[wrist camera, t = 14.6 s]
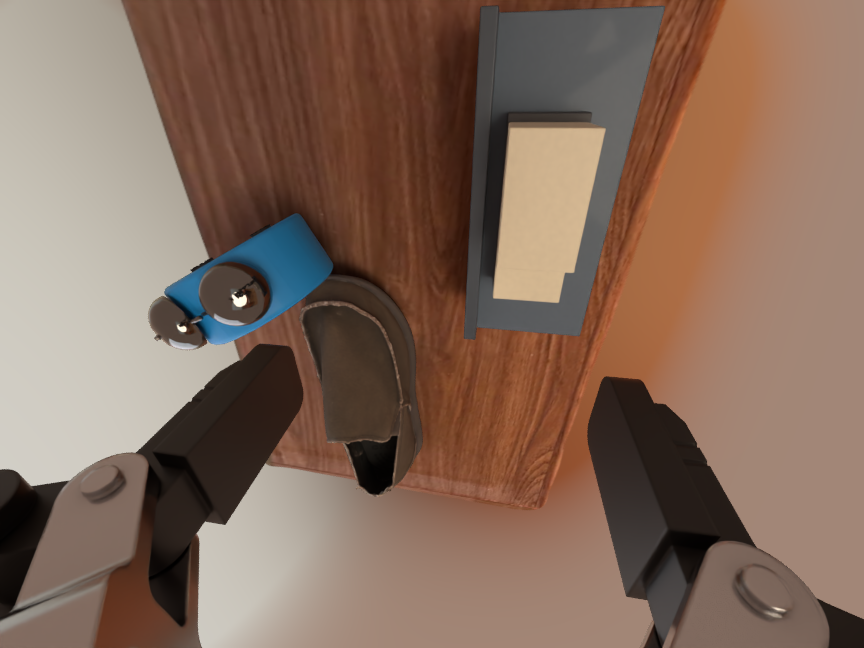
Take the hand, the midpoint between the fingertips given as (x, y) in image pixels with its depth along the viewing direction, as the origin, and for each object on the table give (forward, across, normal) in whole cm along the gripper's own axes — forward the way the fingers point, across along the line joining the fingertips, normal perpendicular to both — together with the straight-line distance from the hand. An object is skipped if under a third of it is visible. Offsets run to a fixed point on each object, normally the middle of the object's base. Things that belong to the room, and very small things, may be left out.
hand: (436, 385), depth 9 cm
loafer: (+27, +11, +23) cm, 37 cm away
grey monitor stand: (+27, -5, 0) cm, 27 cm away
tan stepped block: (+21, -4, 0) cm, 21 cm away
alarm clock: (+27, +20, +7) cm, 34 cm away
